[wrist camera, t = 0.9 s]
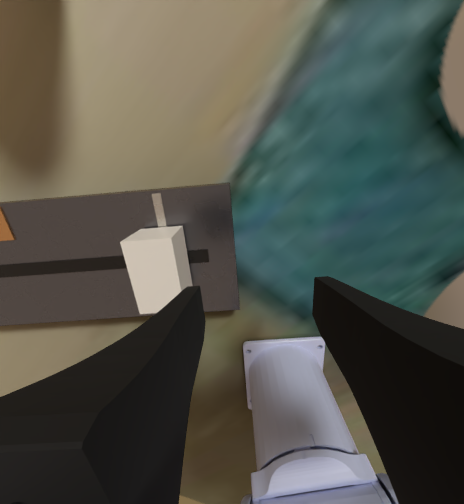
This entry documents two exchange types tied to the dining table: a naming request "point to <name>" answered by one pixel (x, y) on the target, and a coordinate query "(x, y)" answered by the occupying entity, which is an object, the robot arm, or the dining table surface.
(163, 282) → the fader
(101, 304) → the panel
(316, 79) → the dining table surface
